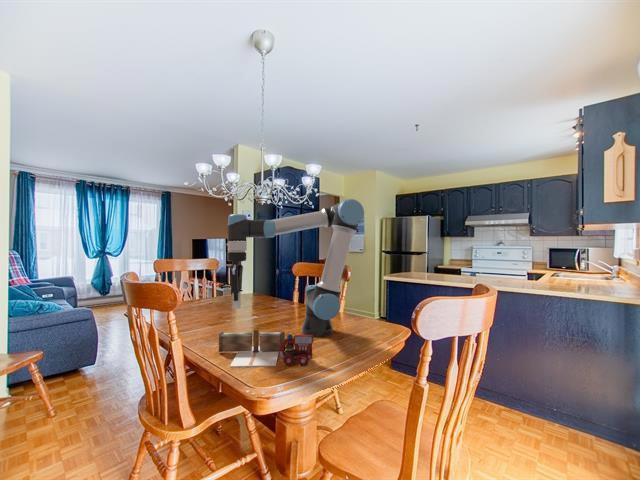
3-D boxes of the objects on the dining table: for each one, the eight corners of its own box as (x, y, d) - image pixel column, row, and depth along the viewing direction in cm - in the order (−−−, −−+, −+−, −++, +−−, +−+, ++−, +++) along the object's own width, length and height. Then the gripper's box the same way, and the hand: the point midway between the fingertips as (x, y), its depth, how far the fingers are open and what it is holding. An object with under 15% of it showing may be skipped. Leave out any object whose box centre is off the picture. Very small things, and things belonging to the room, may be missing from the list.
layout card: (279, 346, 121) (279, 345, 121) (275, 366, 102) (275, 364, 102) (241, 347, 120) (241, 346, 120) (229, 367, 101) (229, 365, 101)
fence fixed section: (284, 351, 116) (284, 328, 116) (284, 352, 114) (284, 330, 114) (253, 351, 115) (253, 329, 115) (252, 353, 113) (253, 330, 113)
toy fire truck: (281, 358, 109) (281, 330, 109) (314, 359, 108) (314, 331, 109) (277, 366, 102) (278, 336, 102) (312, 367, 102) (312, 337, 102)
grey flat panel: (252, 349, 115) (252, 331, 115) (251, 351, 113) (251, 333, 113) (219, 350, 114) (219, 332, 114) (218, 352, 112) (218, 333, 112)
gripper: (231, 250, 126) (231, 304, 126) (223, 252, 113) (223, 312, 113) (249, 251, 127) (248, 304, 127) (242, 252, 113) (242, 312, 113)
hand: (236, 307), depth 120 cm, fingers closed
